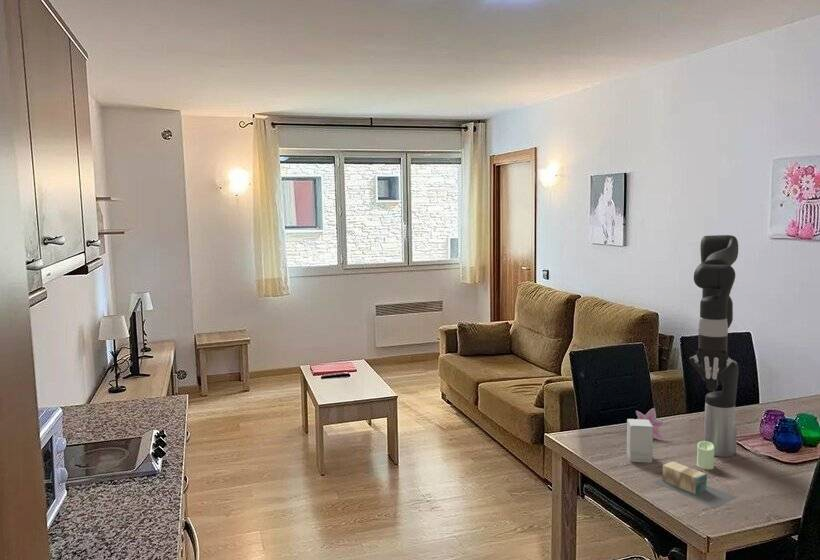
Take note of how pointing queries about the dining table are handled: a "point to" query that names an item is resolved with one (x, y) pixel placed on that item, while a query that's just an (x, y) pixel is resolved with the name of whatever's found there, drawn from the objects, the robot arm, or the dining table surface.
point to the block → (684, 477)
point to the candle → (705, 455)
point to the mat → (702, 494)
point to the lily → (652, 422)
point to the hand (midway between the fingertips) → (711, 390)
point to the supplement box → (639, 440)
